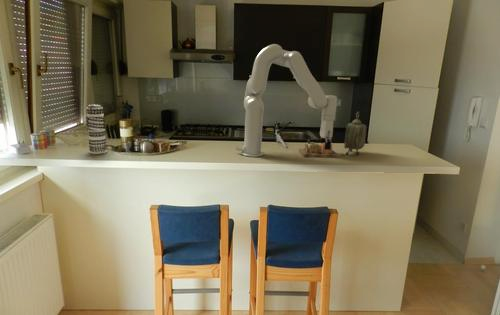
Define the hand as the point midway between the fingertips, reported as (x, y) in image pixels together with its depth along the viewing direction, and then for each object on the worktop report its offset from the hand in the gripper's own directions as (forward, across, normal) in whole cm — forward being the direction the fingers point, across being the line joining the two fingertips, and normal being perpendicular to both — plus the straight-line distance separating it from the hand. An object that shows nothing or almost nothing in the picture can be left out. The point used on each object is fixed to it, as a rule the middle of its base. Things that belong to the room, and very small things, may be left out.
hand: (325, 147), depth 188 cm
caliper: (+5, -24, -22) cm, 33 cm away
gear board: (+4, 0, -4) cm, 6 cm away
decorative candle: (+5, +7, -125) cm, 125 cm away
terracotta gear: (+3, 0, 0) cm, 3 cm away
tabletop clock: (+4, -3, +18) cm, 19 cm away
